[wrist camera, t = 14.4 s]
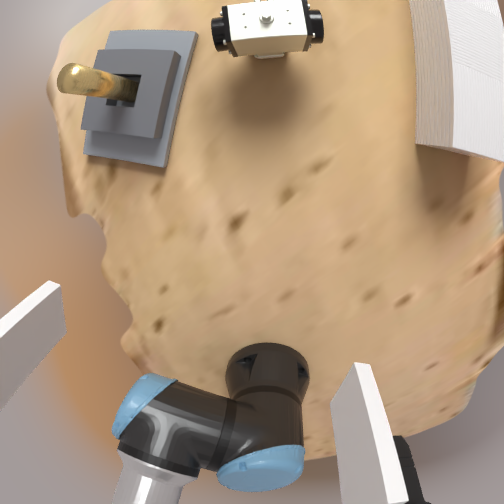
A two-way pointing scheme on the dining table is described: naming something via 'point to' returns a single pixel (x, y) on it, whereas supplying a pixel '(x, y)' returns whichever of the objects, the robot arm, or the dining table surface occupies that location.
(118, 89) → the brass pin
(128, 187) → the dining table surface
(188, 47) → the grey socket base
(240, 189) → the dining table surface
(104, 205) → the dining table surface
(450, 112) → the stack of papers
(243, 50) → the pneumatic valve
